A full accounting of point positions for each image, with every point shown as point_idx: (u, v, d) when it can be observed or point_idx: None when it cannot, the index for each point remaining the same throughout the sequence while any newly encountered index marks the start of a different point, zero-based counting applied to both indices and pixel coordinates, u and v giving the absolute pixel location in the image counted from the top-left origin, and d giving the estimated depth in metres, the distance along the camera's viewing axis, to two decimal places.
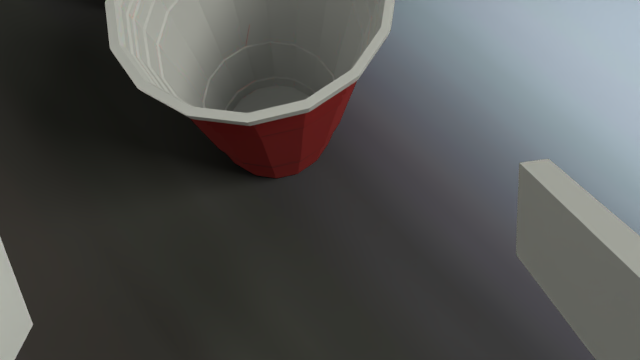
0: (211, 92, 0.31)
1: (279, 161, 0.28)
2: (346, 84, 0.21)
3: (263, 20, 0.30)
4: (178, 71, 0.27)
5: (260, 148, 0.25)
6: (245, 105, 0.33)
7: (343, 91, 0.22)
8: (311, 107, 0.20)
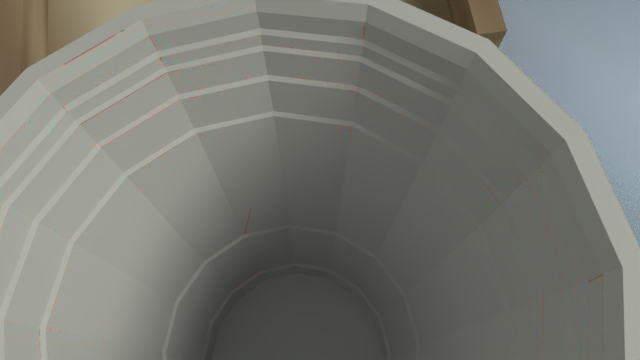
0: (181, 322, 0.17)
1: None
2: None
3: (278, 200, 0.16)
4: (103, 342, 0.13)
5: None
6: (244, 311, 0.19)
7: None
8: None
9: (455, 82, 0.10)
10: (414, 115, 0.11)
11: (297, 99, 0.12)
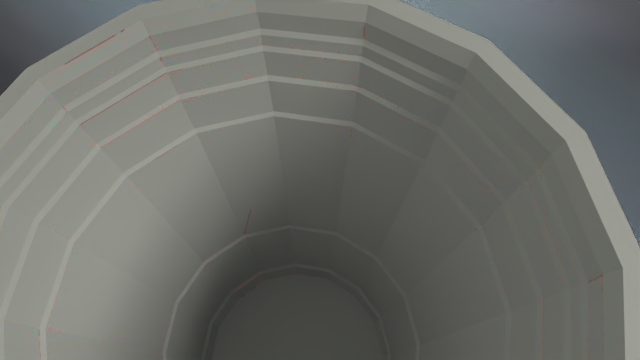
0: (181, 322, 0.17)
1: None
2: None
3: (278, 200, 0.16)
4: (103, 343, 0.13)
5: None
6: (243, 311, 0.19)
7: None
8: None
9: (455, 83, 0.10)
10: (414, 115, 0.11)
11: (297, 99, 0.12)
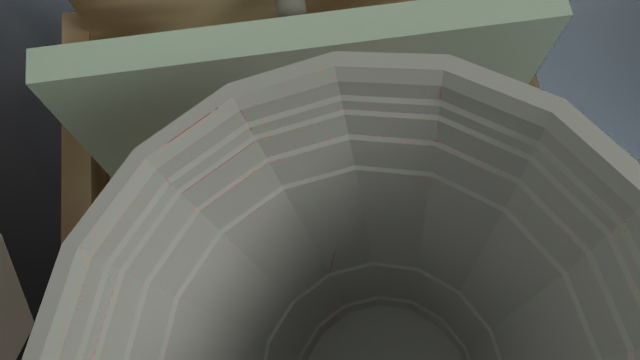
0: (273, 359, 0.18)
1: None
2: None
3: (360, 242, 0.16)
4: None
5: None
6: (330, 343, 0.20)
7: None
8: None
9: (533, 138, 0.11)
10: (493, 167, 0.12)
11: (377, 154, 0.13)
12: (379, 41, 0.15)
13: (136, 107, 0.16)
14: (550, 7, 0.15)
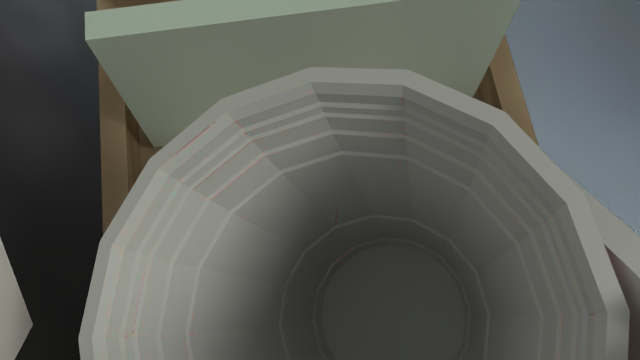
0: (291, 299, 0.21)
1: None
2: None
3: (359, 202, 0.19)
4: (231, 331, 0.17)
5: None
6: (344, 278, 0.23)
7: None
8: None
9: (483, 139, 0.12)
10: (454, 158, 0.13)
11: (358, 144, 0.15)
12: (372, 6, 0.18)
13: (171, 63, 0.20)
14: None
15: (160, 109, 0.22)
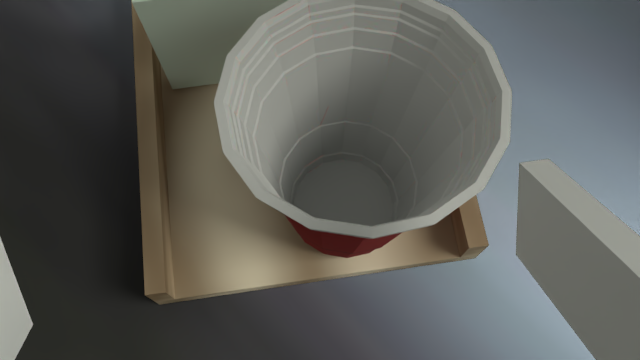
0: (285, 172, 0.30)
1: (363, 249, 0.27)
2: (470, 198, 0.20)
3: (343, 102, 0.29)
4: (265, 159, 0.26)
5: (354, 243, 0.25)
6: (311, 179, 0.33)
7: None
8: (436, 222, 0.20)
9: (440, 29, 0.24)
10: (421, 45, 0.25)
11: (365, 39, 0.26)
12: None
13: (187, 21, 0.29)
14: None
15: (178, 57, 0.32)
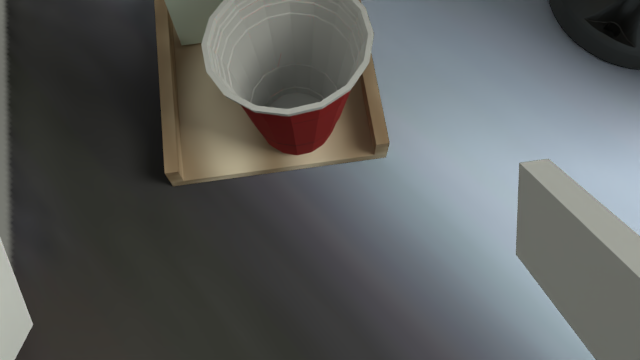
0: (255, 97, 0.46)
1: (301, 141, 0.43)
2: (343, 93, 0.36)
3: (290, 50, 0.45)
4: (237, 84, 0.42)
5: (290, 132, 0.41)
6: (275, 106, 0.49)
7: (342, 97, 0.38)
8: (323, 106, 0.36)
9: None
10: (330, 9, 0.41)
11: (297, 7, 0.42)
12: None
13: None
14: None
15: (186, 21, 0.48)
